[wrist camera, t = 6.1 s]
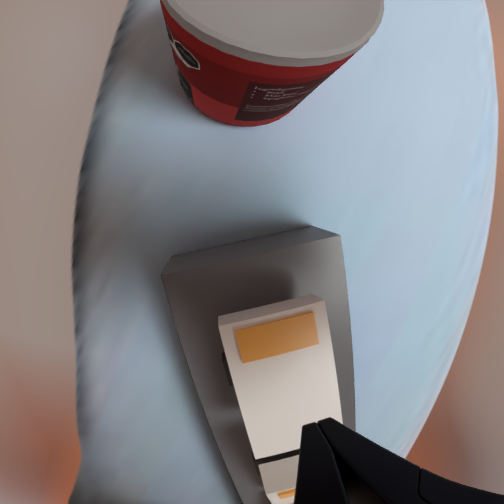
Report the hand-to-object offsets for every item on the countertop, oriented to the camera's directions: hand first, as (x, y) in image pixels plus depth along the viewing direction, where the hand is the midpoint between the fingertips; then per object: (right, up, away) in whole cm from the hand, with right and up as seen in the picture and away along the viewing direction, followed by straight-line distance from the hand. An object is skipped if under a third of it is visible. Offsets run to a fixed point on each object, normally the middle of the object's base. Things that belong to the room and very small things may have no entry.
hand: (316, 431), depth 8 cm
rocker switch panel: (+1, -9, +15) cm, 17 cm away
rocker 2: (+1, -9, +8) cm, 12 cm away
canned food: (-2, +16, +10) cm, 19 cm away
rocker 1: (0, -1, +6) cm, 6 cm away
